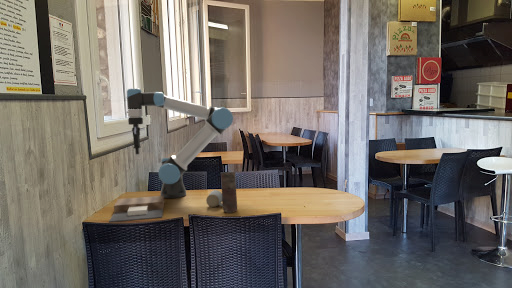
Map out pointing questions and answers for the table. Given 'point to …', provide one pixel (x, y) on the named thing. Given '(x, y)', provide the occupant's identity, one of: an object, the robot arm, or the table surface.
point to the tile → (137, 210)
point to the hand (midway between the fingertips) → (137, 159)
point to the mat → (136, 216)
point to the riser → (139, 203)
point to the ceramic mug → (214, 198)
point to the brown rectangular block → (229, 192)
